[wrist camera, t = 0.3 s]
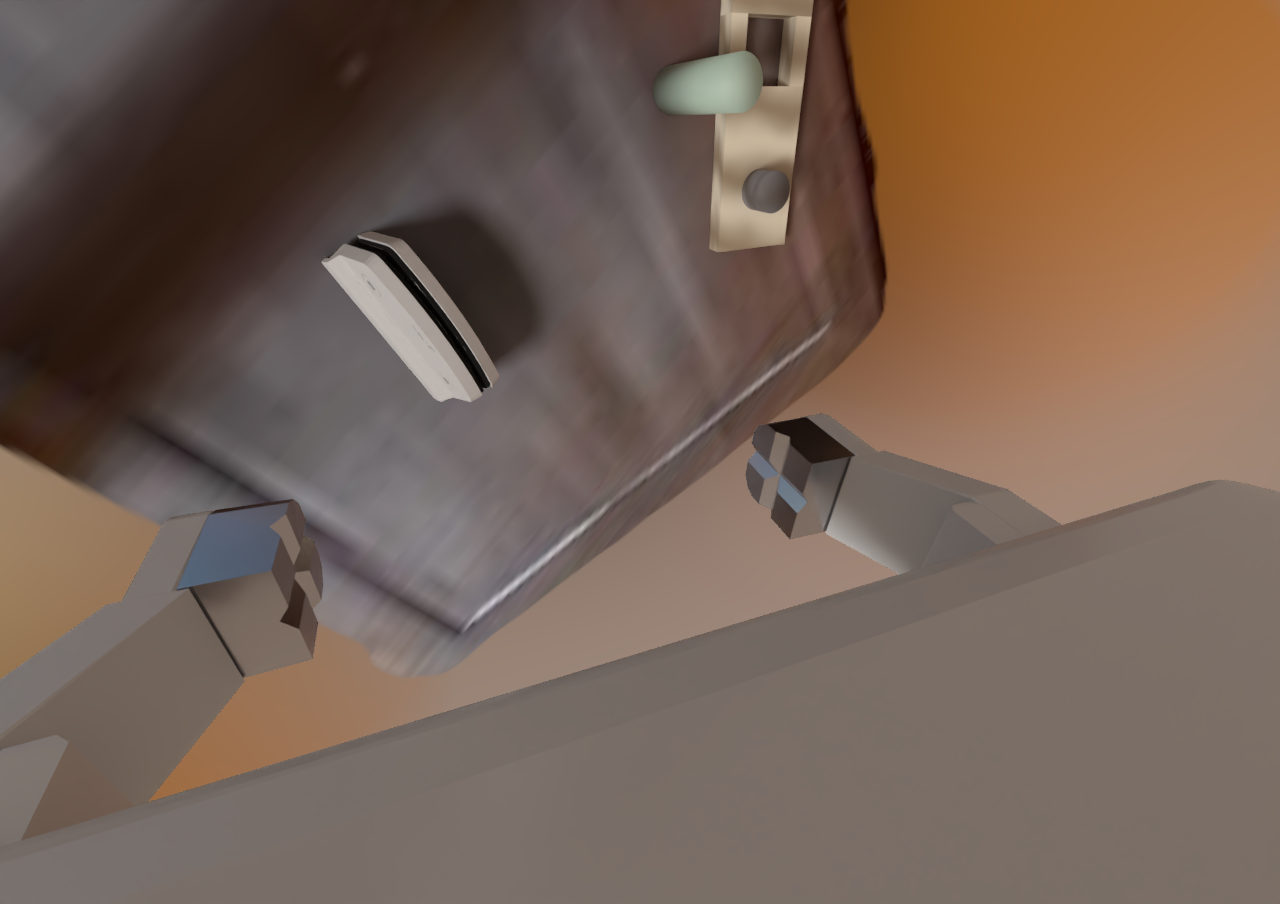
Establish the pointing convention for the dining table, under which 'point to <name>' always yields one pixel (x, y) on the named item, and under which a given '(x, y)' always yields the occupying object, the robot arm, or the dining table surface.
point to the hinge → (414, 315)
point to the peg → (710, 85)
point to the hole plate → (759, 133)
